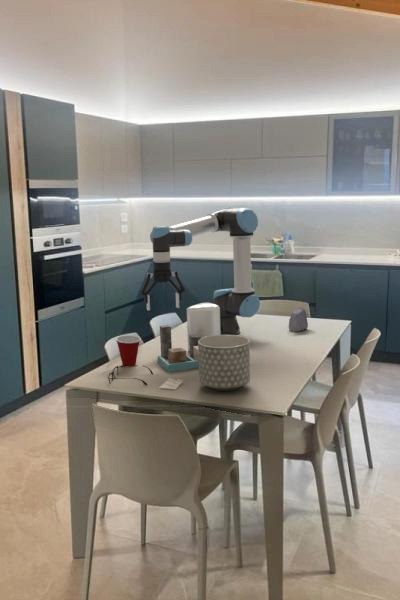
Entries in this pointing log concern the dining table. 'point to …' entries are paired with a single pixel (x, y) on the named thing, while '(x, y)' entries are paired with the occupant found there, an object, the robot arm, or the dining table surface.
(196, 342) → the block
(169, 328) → the block
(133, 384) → the dining table surface
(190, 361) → the teal tray
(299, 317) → the stone
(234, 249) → the robot arm
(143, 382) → the eyeglasses
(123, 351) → the plastic cup
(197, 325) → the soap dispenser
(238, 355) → the planter
